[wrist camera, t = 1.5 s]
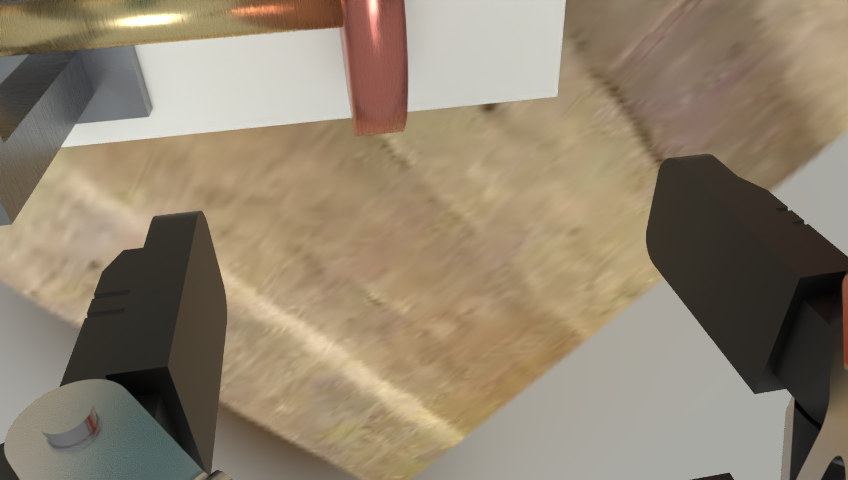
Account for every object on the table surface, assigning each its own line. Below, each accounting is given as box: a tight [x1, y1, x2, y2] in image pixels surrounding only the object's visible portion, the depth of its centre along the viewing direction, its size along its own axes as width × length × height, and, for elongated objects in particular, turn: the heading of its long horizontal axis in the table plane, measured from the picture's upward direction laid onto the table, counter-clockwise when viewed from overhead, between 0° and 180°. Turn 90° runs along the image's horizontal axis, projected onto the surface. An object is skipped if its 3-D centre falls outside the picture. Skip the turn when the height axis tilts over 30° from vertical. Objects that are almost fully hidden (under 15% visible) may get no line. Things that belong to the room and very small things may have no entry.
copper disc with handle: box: [0, 0, 408, 136], centre depth 23 cm, size 18×10×10 cm, turn 92°
